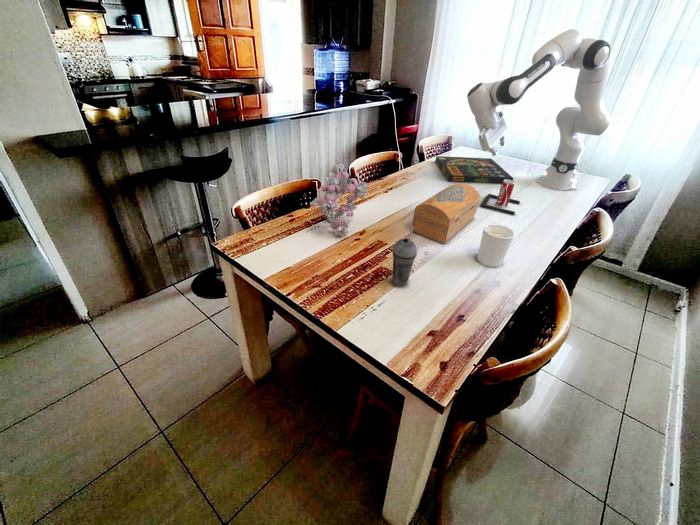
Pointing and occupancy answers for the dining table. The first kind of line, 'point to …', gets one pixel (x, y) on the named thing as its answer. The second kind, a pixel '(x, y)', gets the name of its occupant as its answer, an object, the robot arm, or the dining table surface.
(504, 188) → the soda can
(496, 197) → the bay
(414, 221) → the wooden box
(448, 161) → the pizza box
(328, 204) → the pink flower bunch
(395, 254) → the beverage cup
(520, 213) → the dining table surface
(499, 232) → the candle holder
